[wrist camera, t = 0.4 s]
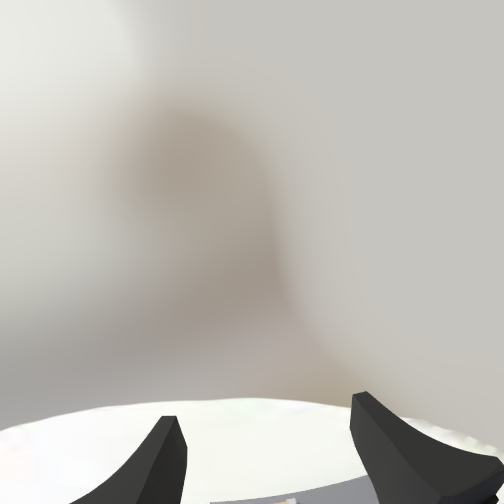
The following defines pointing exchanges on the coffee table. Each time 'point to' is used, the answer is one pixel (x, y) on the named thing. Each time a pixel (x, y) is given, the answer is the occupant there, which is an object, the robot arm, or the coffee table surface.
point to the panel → (324, 495)
